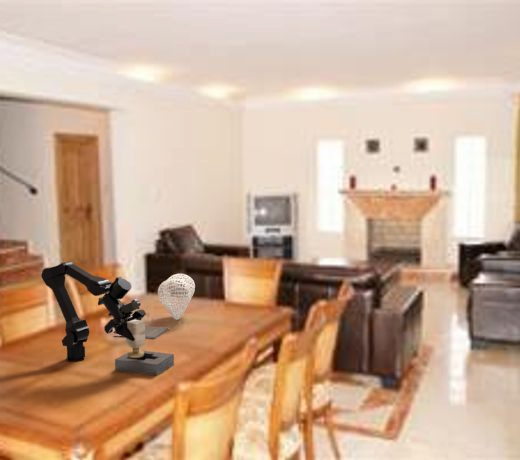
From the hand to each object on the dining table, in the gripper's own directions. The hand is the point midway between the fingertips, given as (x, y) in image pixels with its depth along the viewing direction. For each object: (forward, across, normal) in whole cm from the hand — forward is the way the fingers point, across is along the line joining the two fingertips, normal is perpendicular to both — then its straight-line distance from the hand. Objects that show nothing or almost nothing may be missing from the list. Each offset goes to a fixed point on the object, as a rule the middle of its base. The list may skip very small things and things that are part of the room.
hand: (138, 338), depth 221 cm
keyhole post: (+4, 0, +6) cm, 7 cm away
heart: (-13, +70, +31) cm, 78 cm away
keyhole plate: (+9, +4, +9) cm, 13 cm away
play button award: (-13, +42, +32) cm, 55 cm away
